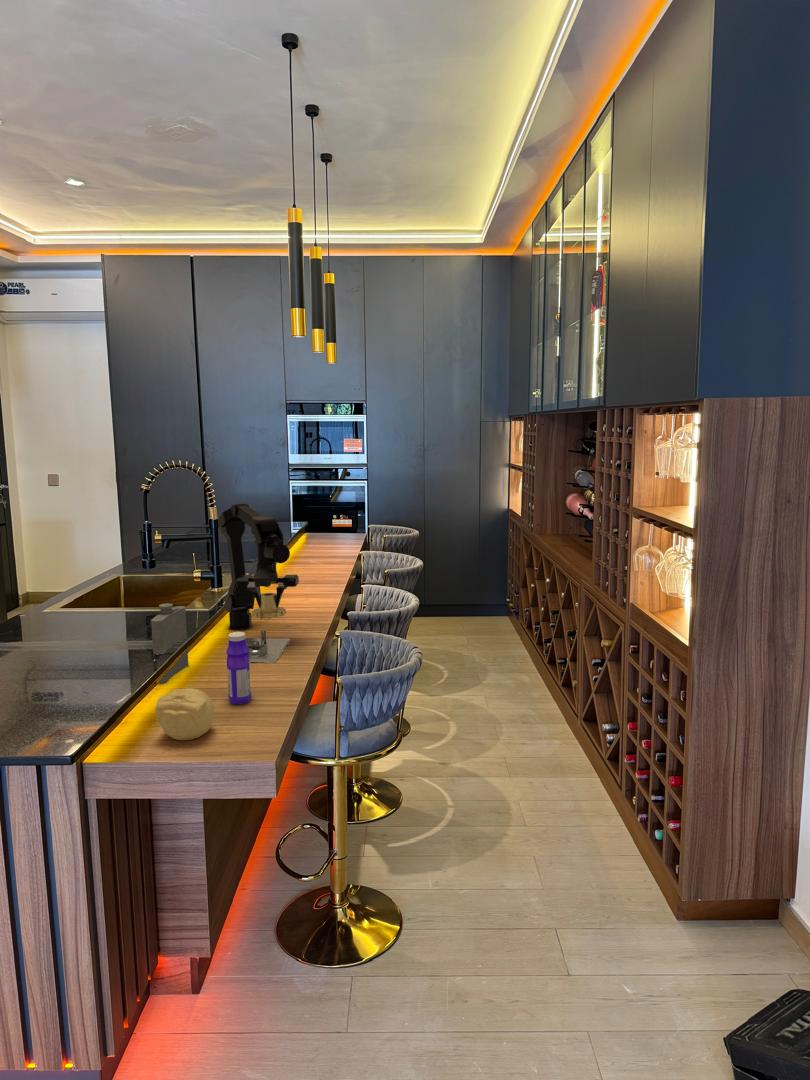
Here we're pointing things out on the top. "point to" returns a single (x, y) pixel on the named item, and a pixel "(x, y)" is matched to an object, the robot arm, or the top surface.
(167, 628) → the hip flask
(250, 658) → the carrier plate
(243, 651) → the bottle
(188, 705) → the sculpture
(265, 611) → the gear
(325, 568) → the top surface
